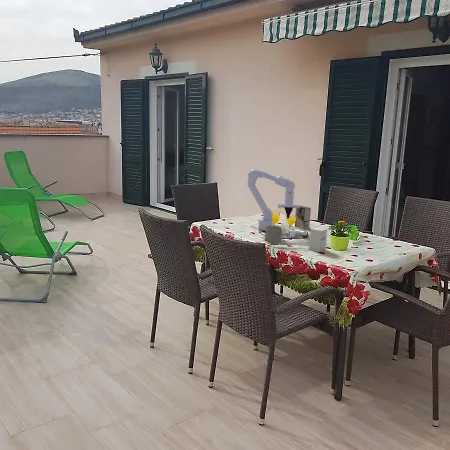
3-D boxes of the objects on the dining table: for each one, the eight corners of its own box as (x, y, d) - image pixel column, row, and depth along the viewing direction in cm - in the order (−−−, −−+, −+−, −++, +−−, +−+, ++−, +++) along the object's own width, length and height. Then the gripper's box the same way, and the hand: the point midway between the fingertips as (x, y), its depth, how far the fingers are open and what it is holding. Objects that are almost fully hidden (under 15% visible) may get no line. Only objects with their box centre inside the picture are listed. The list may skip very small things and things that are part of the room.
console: (280, 240, 293) (280, 237, 293) (276, 232, 313) (277, 230, 313) (303, 240, 293) (303, 238, 293) (299, 233, 313) (299, 231, 313)
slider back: (280, 231, 309) (280, 225, 308) (279, 230, 312) (280, 224, 311) (284, 231, 309) (285, 225, 308) (284, 230, 312) (284, 224, 311)
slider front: (290, 237, 295) (290, 230, 294) (289, 235, 298) (290, 229, 297) (295, 237, 295) (295, 230, 294) (294, 236, 298) (294, 229, 297)
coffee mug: (272, 245, 279) (273, 229, 277) (261, 242, 286) (262, 226, 284) (288, 243, 287) (289, 227, 285) (277, 239, 294) (278, 224, 292)
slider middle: (281, 234, 302) (281, 227, 301) (281, 233, 305) (281, 226, 304) (286, 234, 302) (286, 228, 301) (285, 233, 305) (285, 227, 304)
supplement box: (319, 252, 269) (321, 230, 266) (308, 249, 273) (310, 228, 271) (325, 249, 274) (327, 229, 272) (314, 247, 279) (316, 226, 276)
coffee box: (309, 230, 325) (311, 207, 322) (303, 231, 321) (305, 208, 318) (300, 227, 332) (301, 205, 329) (293, 228, 328) (295, 206, 325)
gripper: (279, 199, 306) (277, 219, 309) (300, 199, 306) (299, 219, 309) (278, 197, 313) (276, 217, 316) (299, 198, 313) (297, 217, 316)
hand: (287, 218), depth 313 cm, fingers closed
